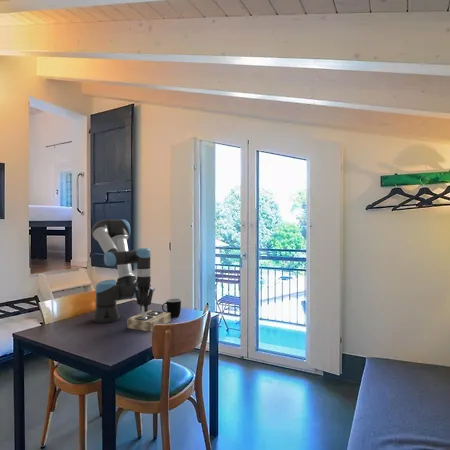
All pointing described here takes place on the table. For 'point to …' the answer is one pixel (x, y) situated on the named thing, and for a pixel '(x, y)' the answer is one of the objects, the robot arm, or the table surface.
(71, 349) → the table surface
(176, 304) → the mug
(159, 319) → the socket block
